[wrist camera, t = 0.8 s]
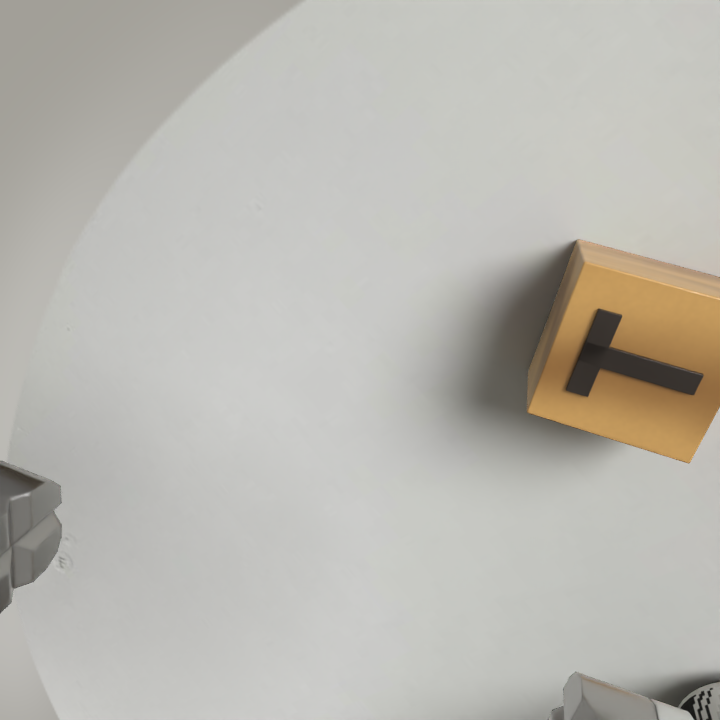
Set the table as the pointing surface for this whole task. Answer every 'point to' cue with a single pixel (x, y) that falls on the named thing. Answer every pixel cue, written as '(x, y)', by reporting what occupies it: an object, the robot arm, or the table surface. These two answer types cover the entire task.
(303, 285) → the table surface
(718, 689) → the beverage can
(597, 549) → the table surface
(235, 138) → the table surface
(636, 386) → the wooden block
